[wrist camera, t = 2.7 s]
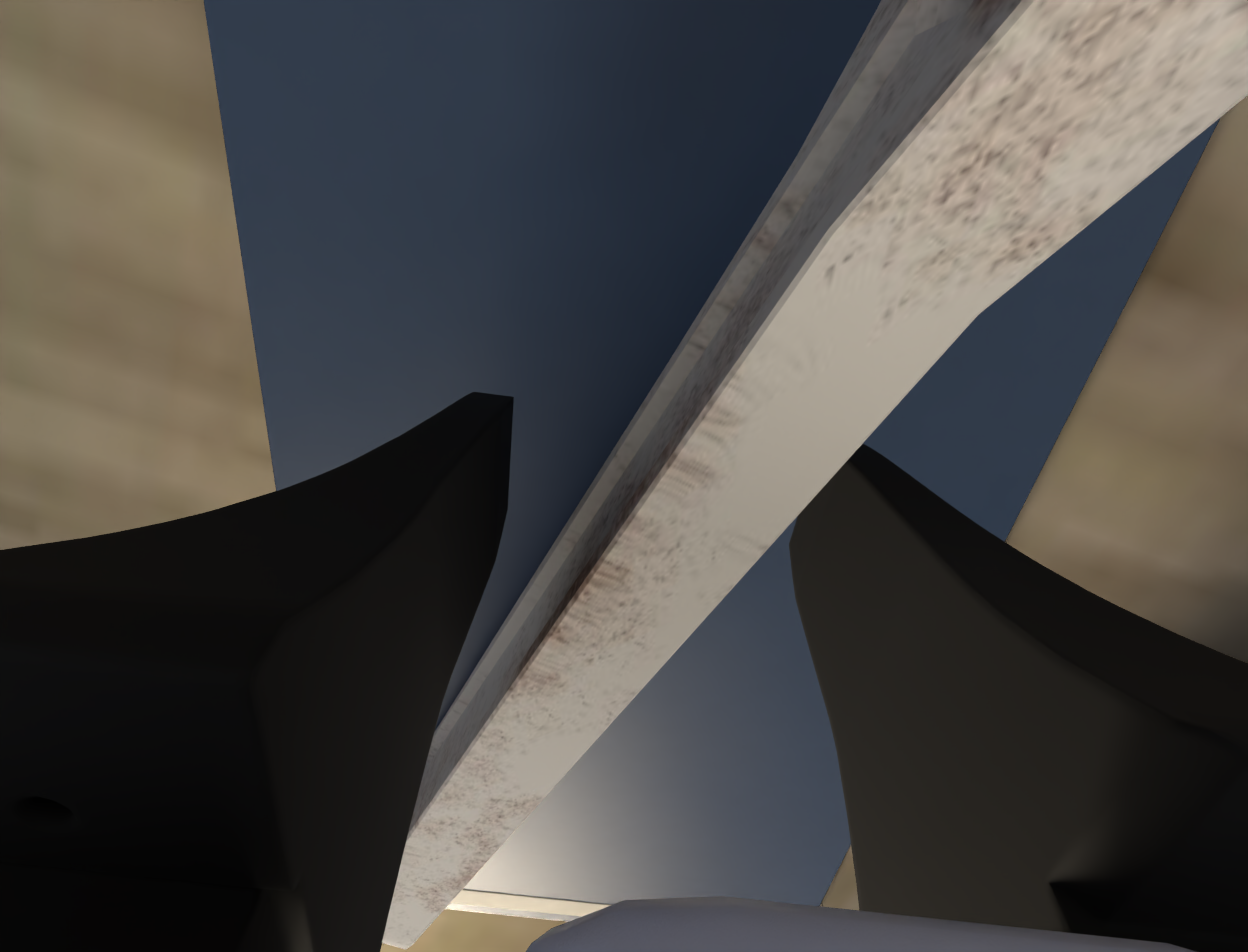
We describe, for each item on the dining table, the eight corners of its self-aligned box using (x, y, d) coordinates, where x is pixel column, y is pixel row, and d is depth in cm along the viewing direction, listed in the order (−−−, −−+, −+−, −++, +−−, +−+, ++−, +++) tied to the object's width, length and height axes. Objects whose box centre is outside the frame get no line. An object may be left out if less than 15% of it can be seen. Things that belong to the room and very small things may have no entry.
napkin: (2263, -1974, 4) (2336, -2063, 4) (798, 938, 22) (799, 946, 22) (-175, -2676, 4) (-219, -2822, 4) (338, 891, 21) (336, 899, 21)
